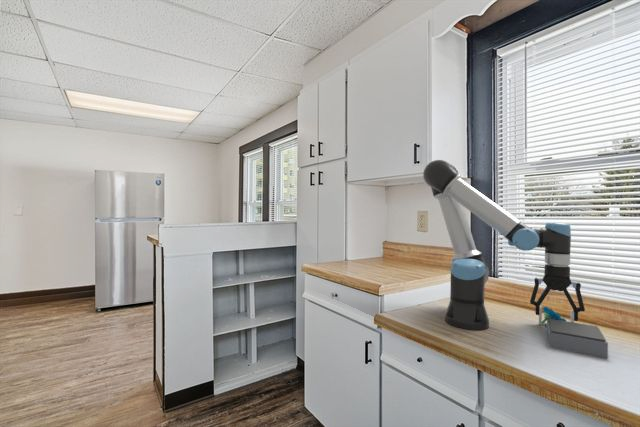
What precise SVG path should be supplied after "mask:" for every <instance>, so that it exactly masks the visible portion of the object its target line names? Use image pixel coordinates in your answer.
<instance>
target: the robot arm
mask: <svg viewBox="0 0 640 427" xmlns="http://www.w3.org/2000/svg"><path fill="white" fill-rule="evenodd" d="M423 180H424V182H425V183H426V185H427V186H429V187H430V188H431V192H432V196H433V197H434V198H435V199H436V200H438V202H439V206H440V209H441V213H442V216H443V219H444V223H445V226H446V230H447V233H448V236H449V240H450V242H451V246H452V249H453V253H454V255H453V256H452V259H451V260H452V262H451V263H450V267H449V268H450V295H449V297H450V300H449V302H448V305H447V308H446V311H445V315H444V321H445V322H446V324H448V325H451V326H453V327H456V328H460V329H463V330H464V329H465V330H473V331H477V330H486V329H489V327H490V319H489V315H488V313H487V312H488V311H487V309H486V306H485V284H486V283H487V282H488V280H489V276H490V270H489V267H488V265H487V264H486V262H485V259H484V257H483V253H482V251H479V250H478V249H477V247H476V244H475V240H474V238H473V237H474V236H473V233H472V231H471V228H470V224H469V221H468V218H467V215H466V211H465V209H466V210H468V211H469V212H471V213H472V214H474V216H475V217H477V218H479V219H480V220H481V221H483V222H484V223H485V224H487V225H488V226H489V227H491V228H492V229H493V230H494V231H495V232H497V233H499V234H500V235H501V236H502V237H504V238H505V239H507V244H508V245H509V246H511V247H515V248H517V249H519V250H520V251H527V252H528V251H532V250H535V249H536V248H540V249H541V248H542V249H543V248H544V263H545V264H544V271H543V272H544V275H543V277H542V278H541V277H539V278H538V277H534V285H533V289H532V294H531V297H530V301H529V304H530V305H533V306H535V315H536V316H538V325H539V326H542V325H543V324H542V321H543V319H542V318H543V317H542V315H543V314H542V313H543V309H542V308H543V306H542V303H543V302H544V301H545V299H546V297H547V296H548V294H549V293H550V292H551V291H557V292H563V294H564V295H565V296H566V298H567V301H568V302H569V304H570V306H571V308H572V310H571V309H570V322H573V323H575V322H578V321H579V313H580V312H585V311H586V309H585V304H584V300H583V297H582V294H581V287H582V284H581V283H580V282H579V281H576V282H575V281H572V279H571V267H570V265H571V243H572V242H571V240H572V236H571V235H572V234H571V233H572V232H571V231H572V230H571V225H570V224H569V223H567V222H546V223H545V226H544V227H532V226H531V227H529V226H528V225H526V224H525V223H523V222H522V221H521V220H520V219H518V218H517V217H515V216H514V215H512V214H511V213H510V212H508V211H507V210H505V209H504V208H503V207H501V206H500V205H498V204H497V203H496V202H494V201H492V200H491V199H490V198H489V197H487V196H486V195H484V194H483V192H482V193H481V192H480V191H478V190H477V189H476V188H474V187H473V186H471V185H470V184H469V183H467V182H466V181H465V180H464V179H462V176H461V174H460V173H459V171H458V170H457V168H456V167H455V166H454V165H453V164H450V163H449V162H448V161H445V160H443V159H436V160H432V161H431V162H429V163H427V165H426V166H425V168H424V169H423ZM464 208H465V209H464ZM542 282H543V283H544V284H545V288H544V290H543V291H542V293H541V295H539V298H537V300H536V297H537V293H538V290H539V286H540V285H541V284H542ZM570 286H572V288H573V289H574V290H575V294H576V297H577V299H576V300H577V302H578V306H576V304H575V302H574V300H573V297H572V296H571V294H570V293H569V291H568V289H567V288H569V287H570ZM535 300H536V301H535Z"/></svg>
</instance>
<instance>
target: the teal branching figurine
mask: <svg viewBox="0 0 640 427" xmlns="http://www.w3.org/2000/svg"><path fill="white" fill-rule="evenodd" d="M542 311H543V313H544V314H543V315H544V317H543V319H542V325H544V323H545V322H547V320H549V319H555V320H561V321H567V319H565V318H564V317H561V314H560V313H559V312H555V311H554V310H553V309H552V308H549V307H548V306H542ZM545 328H547V324H546V325H545Z"/></svg>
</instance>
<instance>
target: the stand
mask: <svg viewBox="0 0 640 427" xmlns="http://www.w3.org/2000/svg"><path fill="white" fill-rule="evenodd" d="M546 325H547V327H546V337H547V338H546V339H547V347H549V348H552V349H553V348H554V349H560V350H563V351H569V352H574V353H580V354H583V355H589V356H594V357H599V358H604V359H608V358H609V356H608V354H609V353H608V348H609V345H608V344H609V342H608V341H607V338H606V337H605V336H604V334H603V332H602V330H601V329H600V327H598V325H597V326H596V325H592V324H584V323H578V322H574V323H573V322H571V321H567V320H566V321H561V320H555V319H549V320H546Z"/></svg>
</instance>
